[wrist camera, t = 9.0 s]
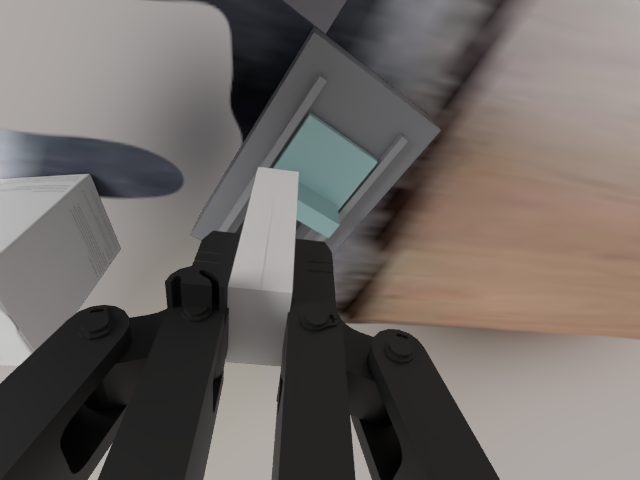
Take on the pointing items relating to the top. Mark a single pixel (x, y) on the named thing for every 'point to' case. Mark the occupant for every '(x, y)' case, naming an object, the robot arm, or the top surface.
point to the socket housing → (342, 115)
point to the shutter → (324, 172)
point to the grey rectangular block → (318, 11)
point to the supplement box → (48, 256)
